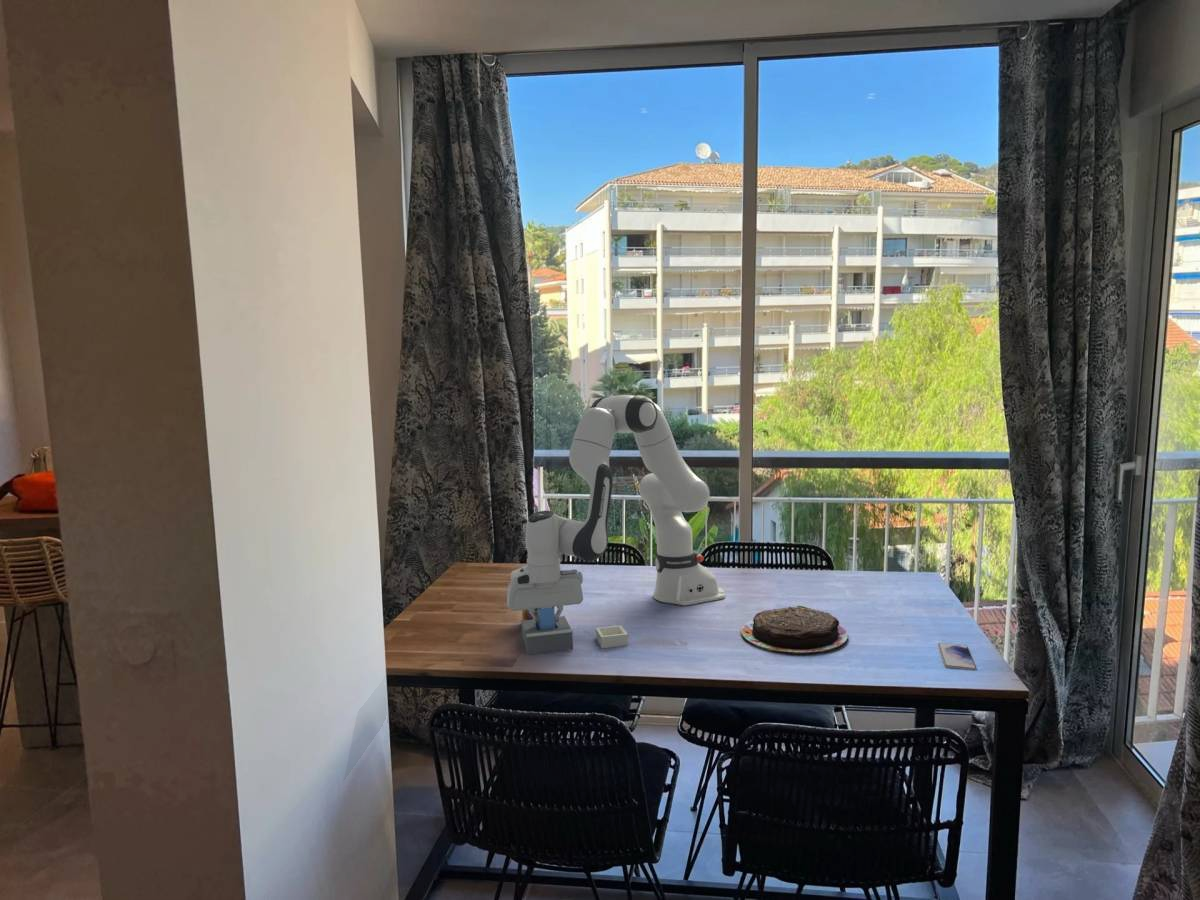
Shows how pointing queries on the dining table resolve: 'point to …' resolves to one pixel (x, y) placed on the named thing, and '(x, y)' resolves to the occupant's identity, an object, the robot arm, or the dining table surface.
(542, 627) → the plug
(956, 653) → the smartphone
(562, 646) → the port block
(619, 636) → the white square tray
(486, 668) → the dining table surface
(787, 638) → the chocolate cake
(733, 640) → the dining table surface
